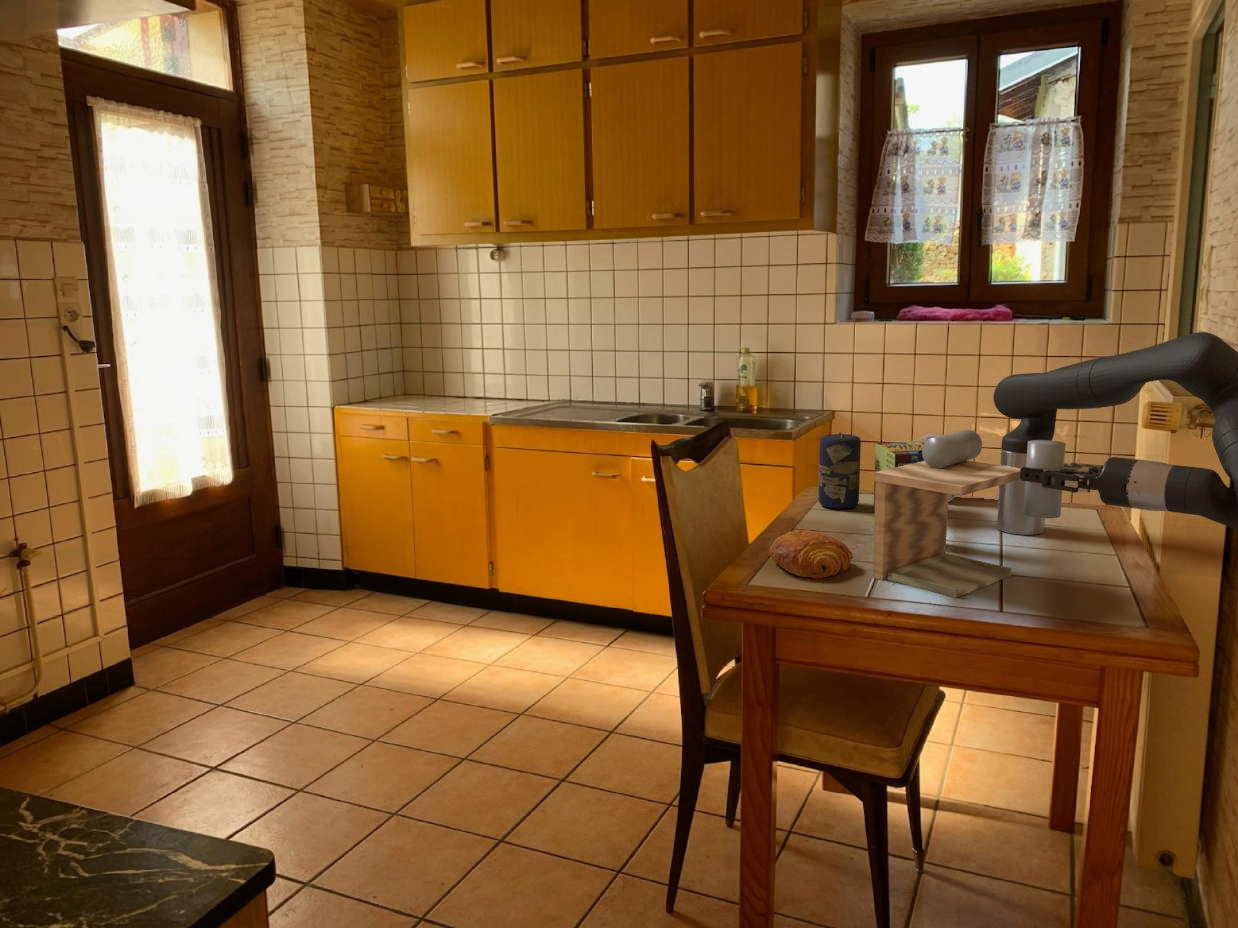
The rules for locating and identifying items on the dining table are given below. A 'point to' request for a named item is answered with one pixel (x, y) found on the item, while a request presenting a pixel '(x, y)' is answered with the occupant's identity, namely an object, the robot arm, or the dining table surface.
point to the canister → (839, 470)
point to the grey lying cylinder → (951, 448)
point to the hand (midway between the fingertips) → (1029, 471)
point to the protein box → (895, 456)
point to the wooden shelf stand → (930, 526)
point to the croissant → (810, 554)
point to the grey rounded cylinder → (1036, 496)
